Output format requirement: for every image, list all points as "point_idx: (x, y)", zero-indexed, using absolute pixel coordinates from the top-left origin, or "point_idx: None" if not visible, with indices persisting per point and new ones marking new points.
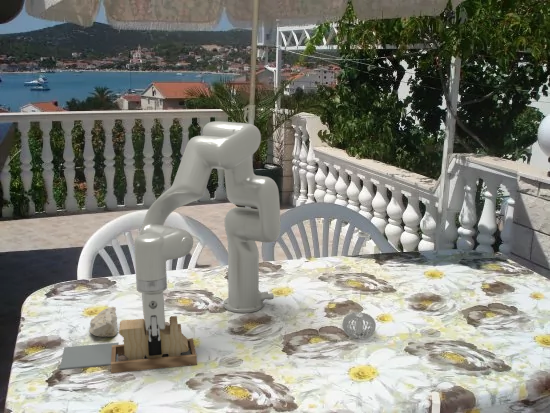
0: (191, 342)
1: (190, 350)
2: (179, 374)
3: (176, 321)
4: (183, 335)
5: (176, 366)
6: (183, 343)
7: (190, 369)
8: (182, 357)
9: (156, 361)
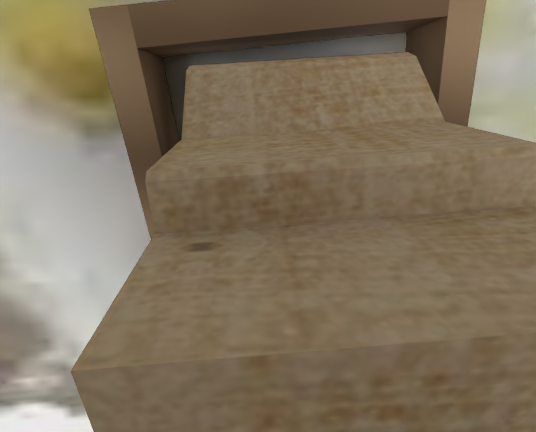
0: (188, 22)
1: (254, 43)
2: (529, 127)
3: (511, 357)
4: (204, 109)
5: None
6: (438, 106)
7: (491, 49)
8: (467, 111)
9: None
